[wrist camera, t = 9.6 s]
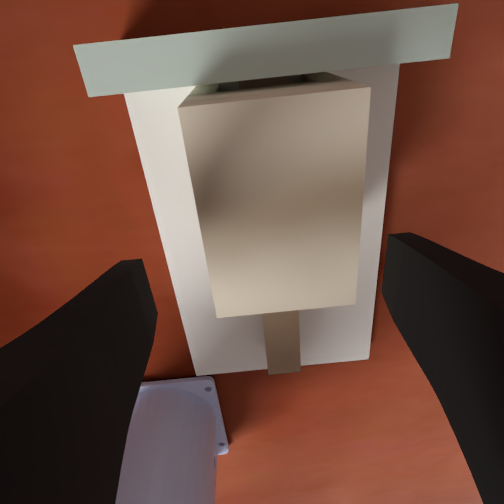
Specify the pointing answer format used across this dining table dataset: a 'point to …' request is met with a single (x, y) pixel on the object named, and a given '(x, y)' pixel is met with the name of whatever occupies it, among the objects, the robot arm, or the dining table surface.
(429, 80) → the dining table surface
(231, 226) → the saddle block
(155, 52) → the board
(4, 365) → the robot arm
